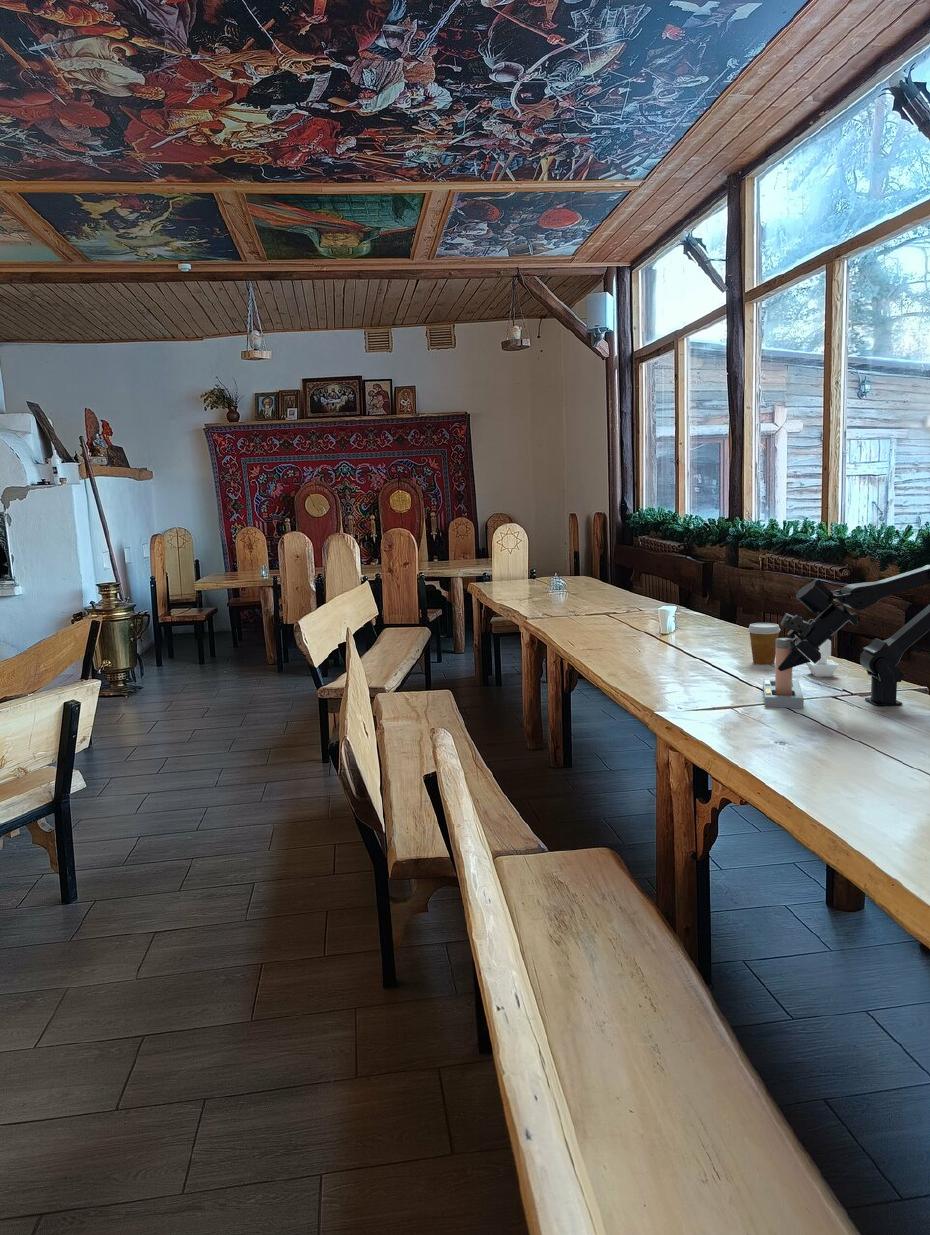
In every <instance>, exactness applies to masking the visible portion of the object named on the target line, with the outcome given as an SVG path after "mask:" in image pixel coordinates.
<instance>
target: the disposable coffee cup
mask: <svg viewBox="0 0 930 1235" xmlns="http://www.w3.org/2000/svg"><path fill="white" fill-rule="evenodd" d="M747 630H748V632H749V638H750V647H751V657H752V663H753V664H756V665H763V666H765V665H766V666H767V665H773V664H775V663H776V639H777V638H779V634H780V632H781V628H780V624H779V623H778V624H777V623H773V622H755V623H750V624H749V626H748V628H747Z"/></svg>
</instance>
